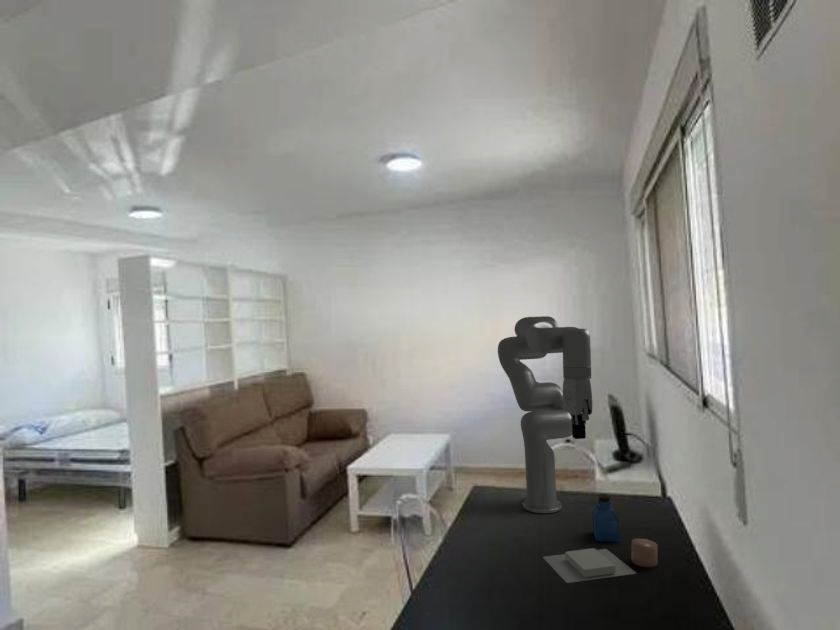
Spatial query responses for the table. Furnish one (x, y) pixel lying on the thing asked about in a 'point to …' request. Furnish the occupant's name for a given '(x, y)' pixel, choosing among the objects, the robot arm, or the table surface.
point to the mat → (573, 575)
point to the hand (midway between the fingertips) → (579, 437)
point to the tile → (590, 562)
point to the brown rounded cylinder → (644, 552)
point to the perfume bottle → (605, 520)
